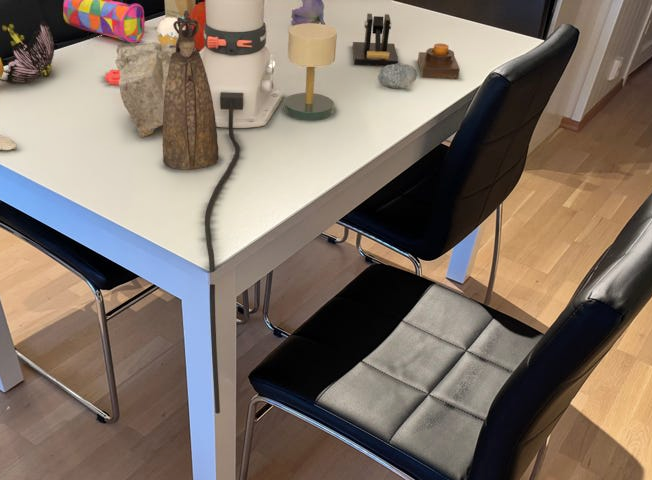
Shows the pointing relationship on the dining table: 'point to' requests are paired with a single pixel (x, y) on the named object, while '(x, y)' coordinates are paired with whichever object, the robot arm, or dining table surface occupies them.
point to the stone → (144, 82)
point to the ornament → (168, 31)
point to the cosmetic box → (178, 7)
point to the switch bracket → (363, 47)
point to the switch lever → (377, 40)
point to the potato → (1, 68)
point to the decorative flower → (30, 55)
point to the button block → (438, 65)
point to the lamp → (310, 68)
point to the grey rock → (397, 75)
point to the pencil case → (106, 18)
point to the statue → (188, 106)
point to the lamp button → (440, 49)
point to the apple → (199, 24)
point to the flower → (309, 13)
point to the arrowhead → (6, 143)
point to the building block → (113, 77)
